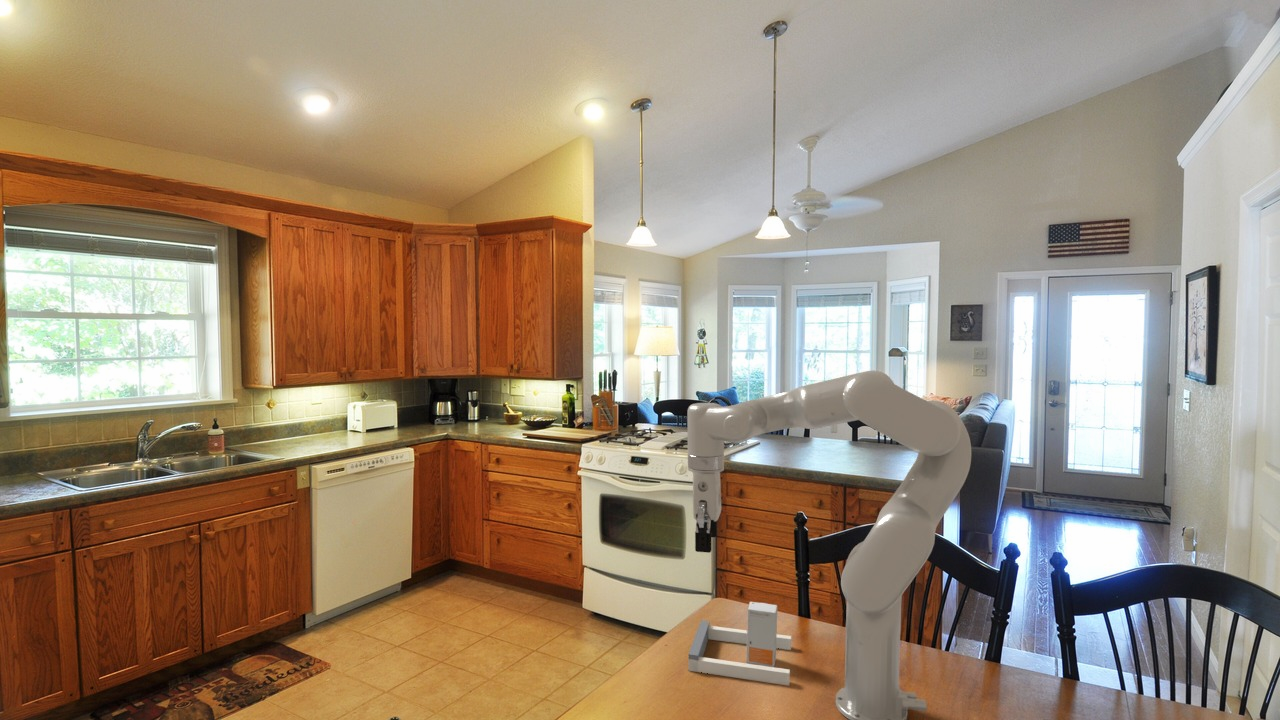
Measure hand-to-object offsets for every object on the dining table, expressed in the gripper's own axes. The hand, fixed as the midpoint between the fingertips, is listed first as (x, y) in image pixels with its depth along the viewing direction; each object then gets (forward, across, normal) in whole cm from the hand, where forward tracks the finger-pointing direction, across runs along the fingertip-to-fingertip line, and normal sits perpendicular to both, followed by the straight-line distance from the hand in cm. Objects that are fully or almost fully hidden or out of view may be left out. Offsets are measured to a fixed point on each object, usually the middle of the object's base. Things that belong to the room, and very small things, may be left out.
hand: (706, 543), depth 130 cm
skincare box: (+27, +6, -11) cm, 30 cm away
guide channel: (+26, +6, -7) cm, 28 cm away
